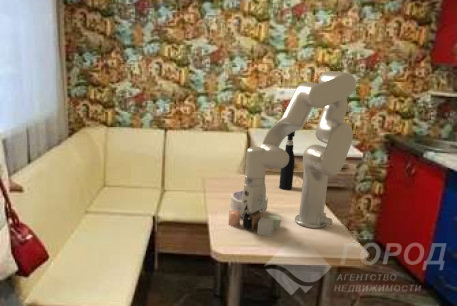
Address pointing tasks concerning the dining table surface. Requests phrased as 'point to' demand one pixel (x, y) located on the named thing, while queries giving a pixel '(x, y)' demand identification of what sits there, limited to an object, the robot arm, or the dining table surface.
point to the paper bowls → (237, 202)
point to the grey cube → (265, 226)
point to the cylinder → (234, 218)
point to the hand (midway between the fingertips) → (251, 225)
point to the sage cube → (276, 221)
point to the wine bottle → (288, 166)
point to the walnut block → (254, 220)
